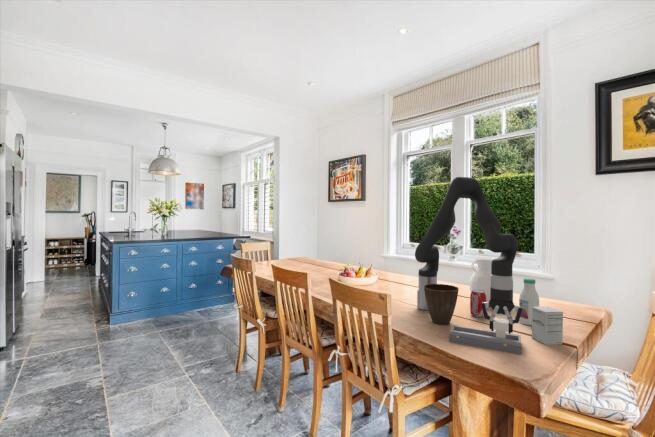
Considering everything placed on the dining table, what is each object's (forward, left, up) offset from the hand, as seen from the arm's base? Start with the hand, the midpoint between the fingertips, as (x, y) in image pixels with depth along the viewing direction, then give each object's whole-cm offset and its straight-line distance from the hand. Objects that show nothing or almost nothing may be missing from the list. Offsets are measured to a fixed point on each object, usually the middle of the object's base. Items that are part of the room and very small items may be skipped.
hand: (501, 331), depth 123 cm
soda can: (-11, +35, -5) cm, 37 cm away
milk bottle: (+10, +34, -5) cm, 36 cm away
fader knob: (0, 0, -3) cm, 3 cm away
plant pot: (-25, +16, -5) cm, 30 cm away
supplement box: (+15, +13, -5) cm, 21 cm away
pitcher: (-8, +61, -5) cm, 62 cm away
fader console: (-6, 0, -5) cm, 8 cm away
